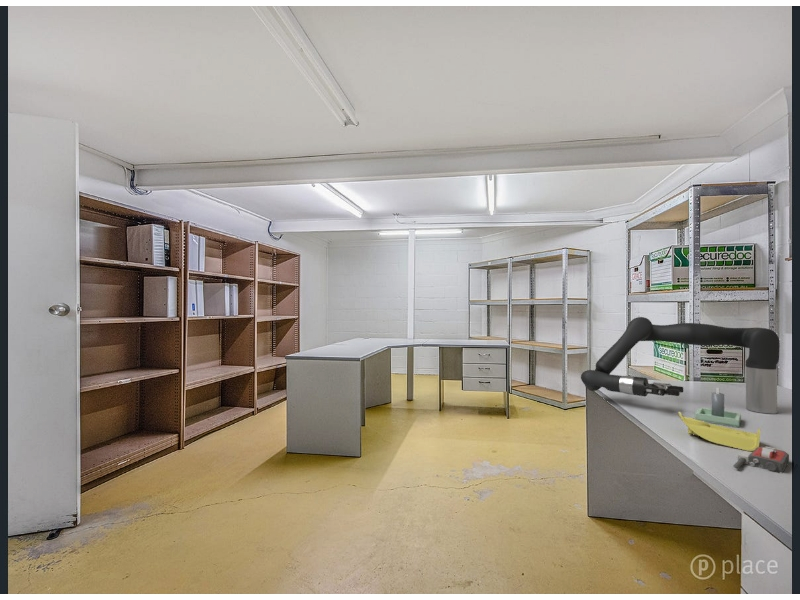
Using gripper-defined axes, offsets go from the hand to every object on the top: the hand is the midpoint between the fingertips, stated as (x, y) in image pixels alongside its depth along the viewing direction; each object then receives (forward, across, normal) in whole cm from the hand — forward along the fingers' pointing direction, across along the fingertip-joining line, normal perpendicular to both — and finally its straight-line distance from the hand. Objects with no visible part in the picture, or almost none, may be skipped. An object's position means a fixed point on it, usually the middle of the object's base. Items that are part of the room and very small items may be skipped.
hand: (681, 391), depth 150 cm
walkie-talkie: (+23, -44, +10) cm, 51 cm away
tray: (+11, 0, +9) cm, 14 cm away
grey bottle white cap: (+11, 0, +8) cm, 14 cm away
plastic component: (+13, -27, +9) cm, 31 cm away
